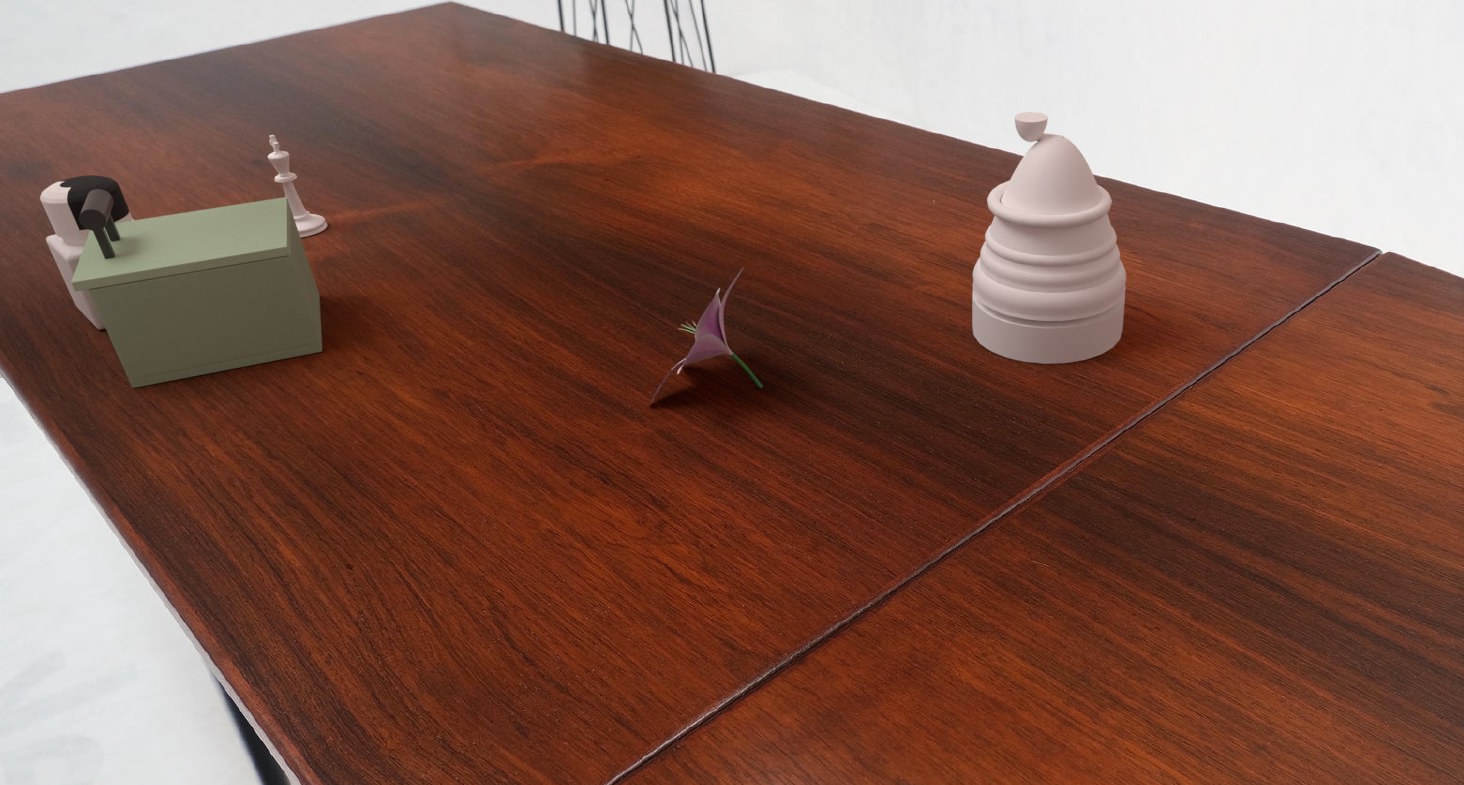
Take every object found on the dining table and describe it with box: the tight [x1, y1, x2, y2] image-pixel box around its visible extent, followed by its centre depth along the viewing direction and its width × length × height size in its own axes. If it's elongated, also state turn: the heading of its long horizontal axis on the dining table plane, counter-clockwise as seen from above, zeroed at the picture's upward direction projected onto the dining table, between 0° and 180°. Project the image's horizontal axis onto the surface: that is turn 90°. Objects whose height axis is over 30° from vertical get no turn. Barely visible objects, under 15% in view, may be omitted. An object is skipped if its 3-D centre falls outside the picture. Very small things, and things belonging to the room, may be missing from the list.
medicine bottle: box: [39, 174, 135, 331], centre depth 109 cm, size 7×7×12 cm
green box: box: [89, 206, 323, 389], centre depth 104 cm, size 15×13×9 cm
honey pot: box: [971, 111, 1127, 365], centre depth 98 cm, size 13×13×18 cm
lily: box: [648, 265, 764, 407], centre depth 95 cm, size 12×12×10 cm
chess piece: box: [267, 134, 328, 239], centre depth 124 cm, size 5×5×10 cm
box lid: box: [71, 189, 290, 291], centre depth 99 cm, size 16×13×5 cm
